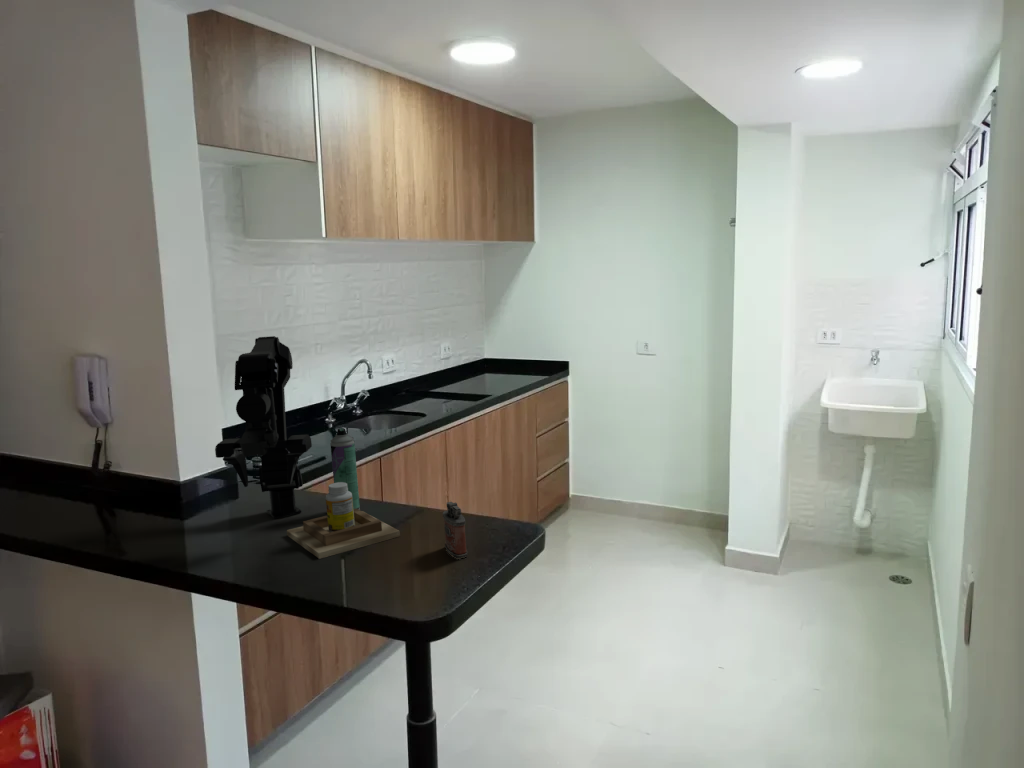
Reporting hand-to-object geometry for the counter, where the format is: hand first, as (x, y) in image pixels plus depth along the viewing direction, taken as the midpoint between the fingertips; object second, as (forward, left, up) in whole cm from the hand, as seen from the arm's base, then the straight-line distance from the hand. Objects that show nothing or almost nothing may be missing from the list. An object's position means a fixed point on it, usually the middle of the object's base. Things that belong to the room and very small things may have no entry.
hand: (268, 485), depth 159 cm
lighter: (+34, +25, -12) cm, 44 cm away
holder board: (+9, +12, -12) cm, 19 cm away
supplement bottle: (+9, +12, -11) cm, 19 cm away
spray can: (-6, +20, -12) cm, 24 cm away
